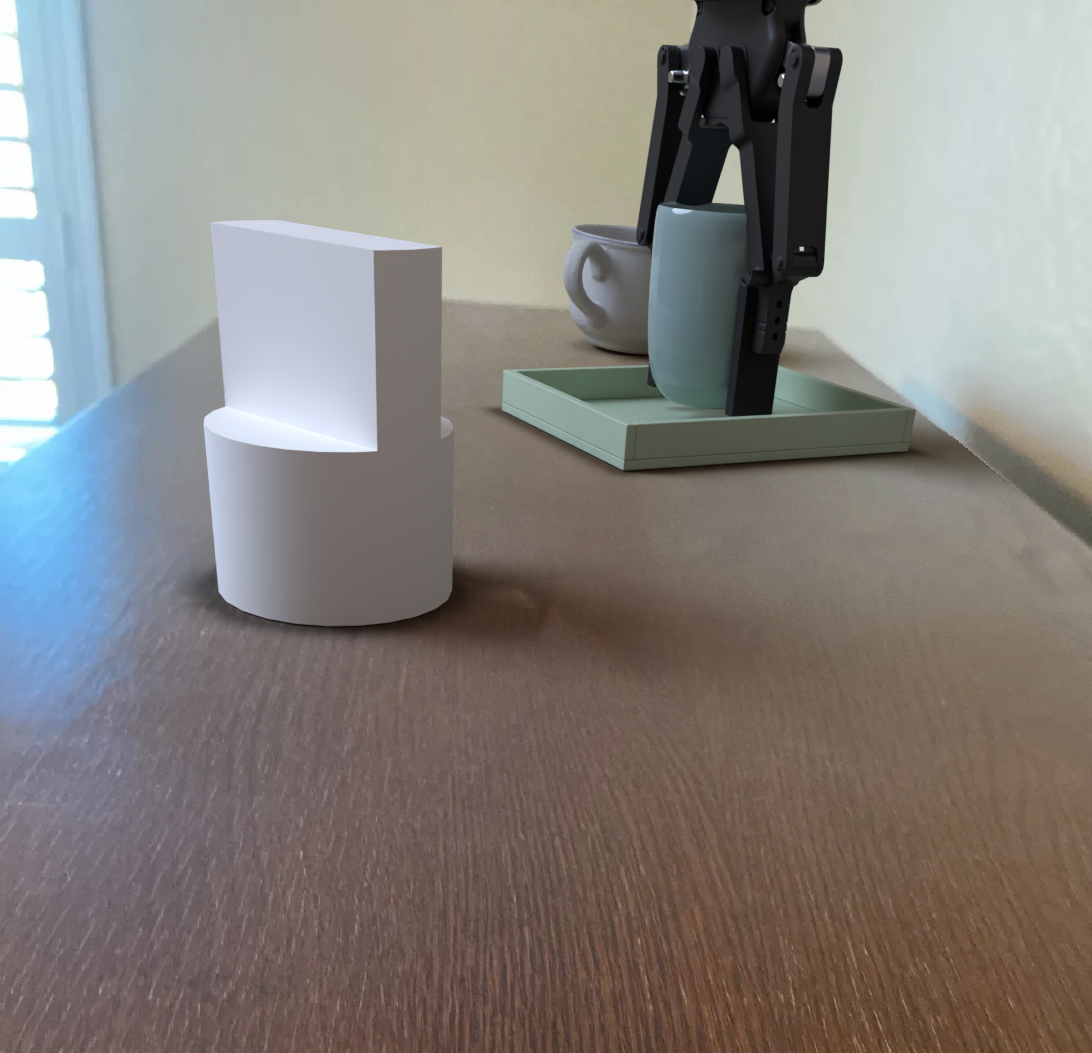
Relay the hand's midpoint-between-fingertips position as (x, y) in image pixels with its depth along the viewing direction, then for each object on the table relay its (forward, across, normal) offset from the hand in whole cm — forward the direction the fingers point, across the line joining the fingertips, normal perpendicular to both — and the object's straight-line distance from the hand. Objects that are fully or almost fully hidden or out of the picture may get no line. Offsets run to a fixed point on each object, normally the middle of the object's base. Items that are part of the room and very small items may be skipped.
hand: (707, 398), depth 77 cm
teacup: (+2, -26, +9) cm, 28 cm away
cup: (0, 0, 0) cm, 0 cm away
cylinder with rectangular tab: (+2, +21, -30) cm, 37 cm away
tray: (+2, 0, 0) cm, 2 cm away
